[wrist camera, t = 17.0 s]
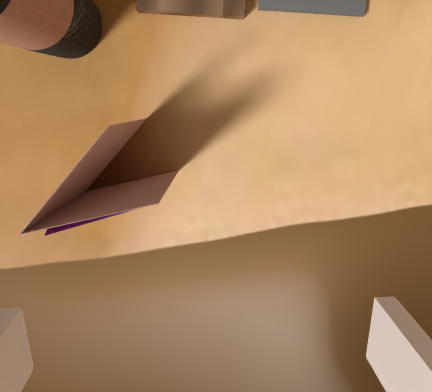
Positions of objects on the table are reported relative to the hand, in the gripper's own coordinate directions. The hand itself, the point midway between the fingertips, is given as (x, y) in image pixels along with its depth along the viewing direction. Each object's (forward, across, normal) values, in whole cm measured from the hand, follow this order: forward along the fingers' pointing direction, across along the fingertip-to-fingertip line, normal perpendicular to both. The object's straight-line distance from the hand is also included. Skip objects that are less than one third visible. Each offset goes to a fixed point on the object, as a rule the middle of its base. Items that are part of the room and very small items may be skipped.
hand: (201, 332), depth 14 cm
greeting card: (+31, -9, 0) cm, 32 cm away
